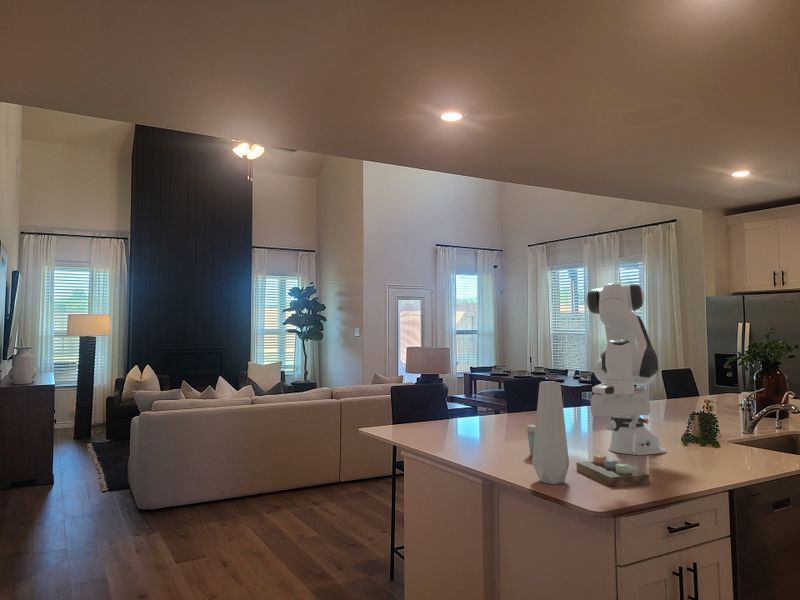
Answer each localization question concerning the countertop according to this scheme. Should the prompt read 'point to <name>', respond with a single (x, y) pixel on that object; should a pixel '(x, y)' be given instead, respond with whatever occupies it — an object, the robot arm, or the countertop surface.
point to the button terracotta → (599, 459)
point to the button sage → (622, 469)
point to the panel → (612, 475)
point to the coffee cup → (531, 437)
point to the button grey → (610, 464)
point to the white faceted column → (550, 435)
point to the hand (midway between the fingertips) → (621, 429)
